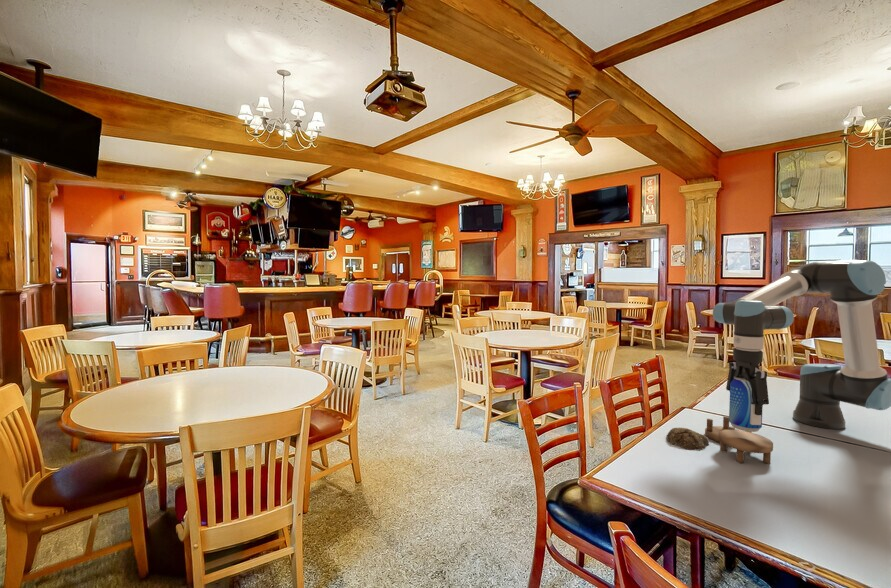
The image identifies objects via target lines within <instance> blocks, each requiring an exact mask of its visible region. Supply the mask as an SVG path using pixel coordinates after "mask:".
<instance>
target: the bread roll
mask: <svg viewBox="0 0 891 588" xmlns="http://www.w3.org/2000/svg"><path fill="white" fill-rule="evenodd" d="M666 438H667V442H668V443H669V444H671V445H676V446H680V447H681V448H683V449H685V450H690V451H692V450H703V449H706V447H707V446H709V445H710V443H709V442H710V441H709V439H708V438H707V437H706V436H705V434H702V433H699V432H696V431H694V430H692V429H690V428H686V427H672V428H671V429H670V430H669V431H668V433H667V434H666Z"/></svg>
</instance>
